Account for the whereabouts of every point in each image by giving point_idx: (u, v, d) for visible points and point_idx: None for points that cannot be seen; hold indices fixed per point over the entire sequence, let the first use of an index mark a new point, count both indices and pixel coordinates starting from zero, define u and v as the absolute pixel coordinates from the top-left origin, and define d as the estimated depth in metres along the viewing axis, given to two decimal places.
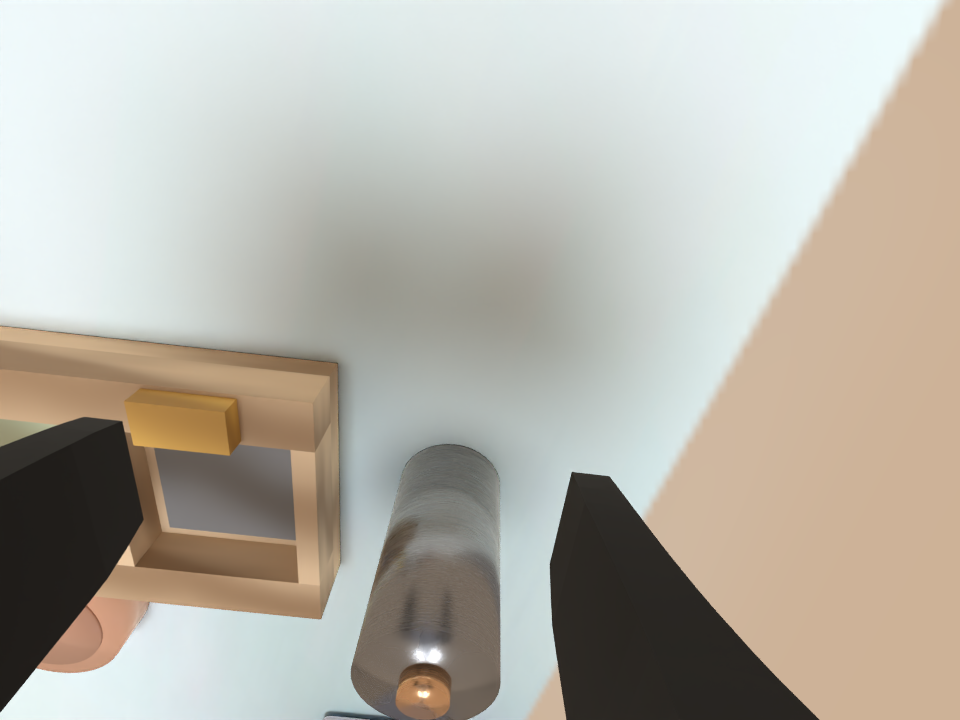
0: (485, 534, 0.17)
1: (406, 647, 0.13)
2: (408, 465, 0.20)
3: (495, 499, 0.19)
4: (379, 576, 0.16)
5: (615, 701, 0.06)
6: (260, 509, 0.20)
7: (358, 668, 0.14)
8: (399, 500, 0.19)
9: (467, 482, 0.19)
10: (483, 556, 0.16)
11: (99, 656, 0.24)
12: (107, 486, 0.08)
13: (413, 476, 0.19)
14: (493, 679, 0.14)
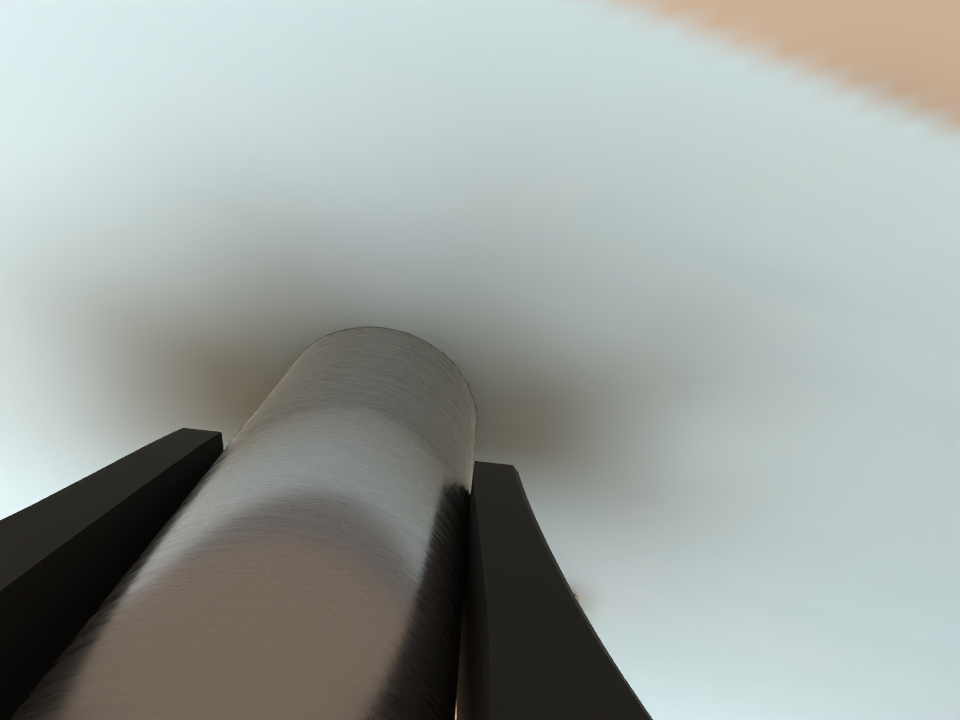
0: (203, 480, 0.07)
1: None
2: None
3: (297, 377, 0.08)
4: None
5: (474, 686, 0.06)
6: None
7: None
8: None
9: None
10: (154, 540, 0.06)
11: None
12: None
13: None
14: None
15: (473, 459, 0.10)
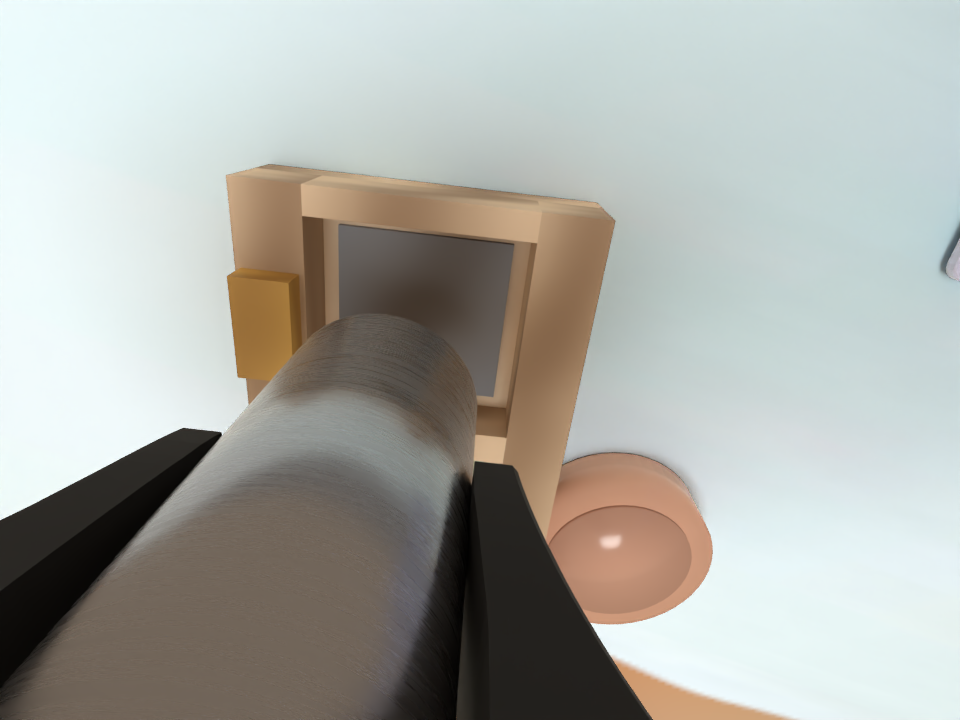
0: (213, 448, 0.07)
1: None
2: None
3: (303, 357, 0.09)
4: None
5: (474, 686, 0.06)
6: (460, 285, 0.16)
7: None
8: None
9: None
10: (166, 500, 0.06)
11: (687, 523, 0.19)
12: None
13: None
14: None
15: None
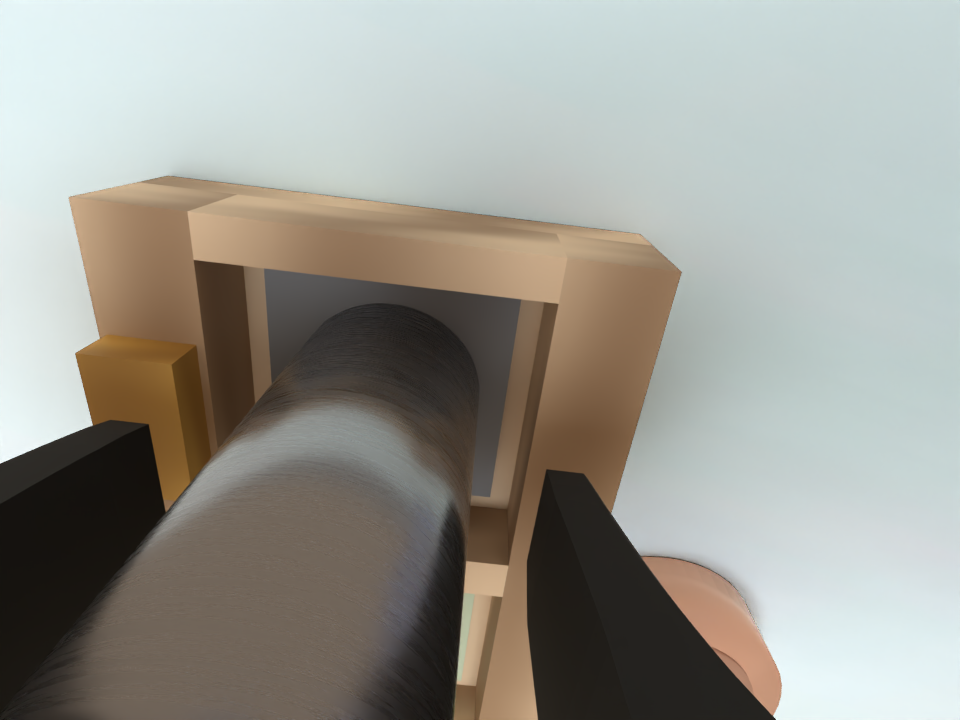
0: (236, 428, 0.07)
1: None
2: None
3: (317, 345, 0.09)
4: None
5: (578, 698, 0.06)
6: None
7: None
8: None
9: None
10: (198, 475, 0.07)
11: (750, 660, 0.14)
12: (134, 489, 0.08)
13: None
14: None
15: None
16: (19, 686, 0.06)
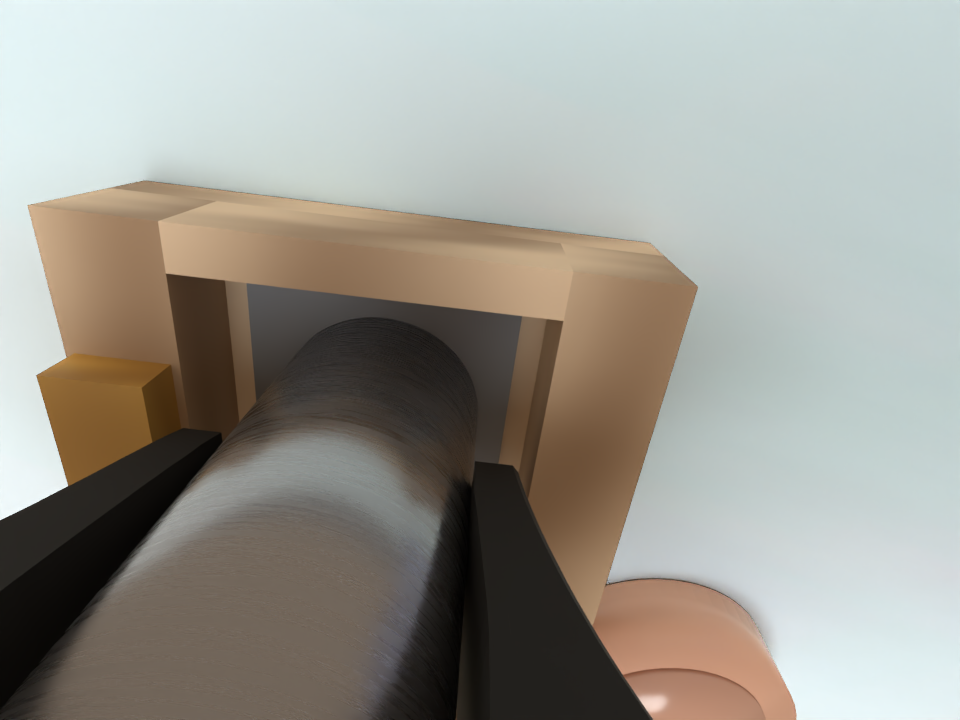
0: (207, 461, 0.07)
1: None
2: None
3: (301, 364, 0.09)
4: None
5: (474, 686, 0.06)
6: None
7: None
8: None
9: None
10: (160, 518, 0.06)
11: (763, 691, 0.13)
12: None
13: None
14: None
15: None
16: None
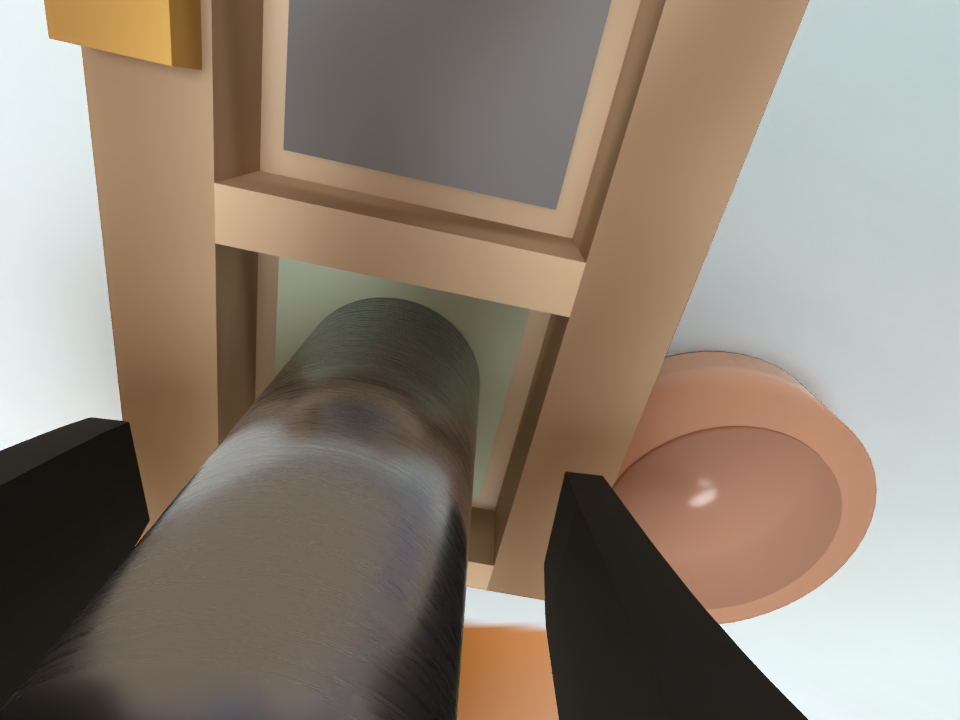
0: (244, 417, 0.08)
1: None
2: None
3: (320, 337, 0.09)
4: None
5: (605, 700, 0.06)
6: None
7: None
8: None
9: None
10: (206, 461, 0.07)
11: (845, 467, 0.11)
12: (114, 487, 0.08)
13: None
14: (148, 685, 0.04)
15: None
16: None
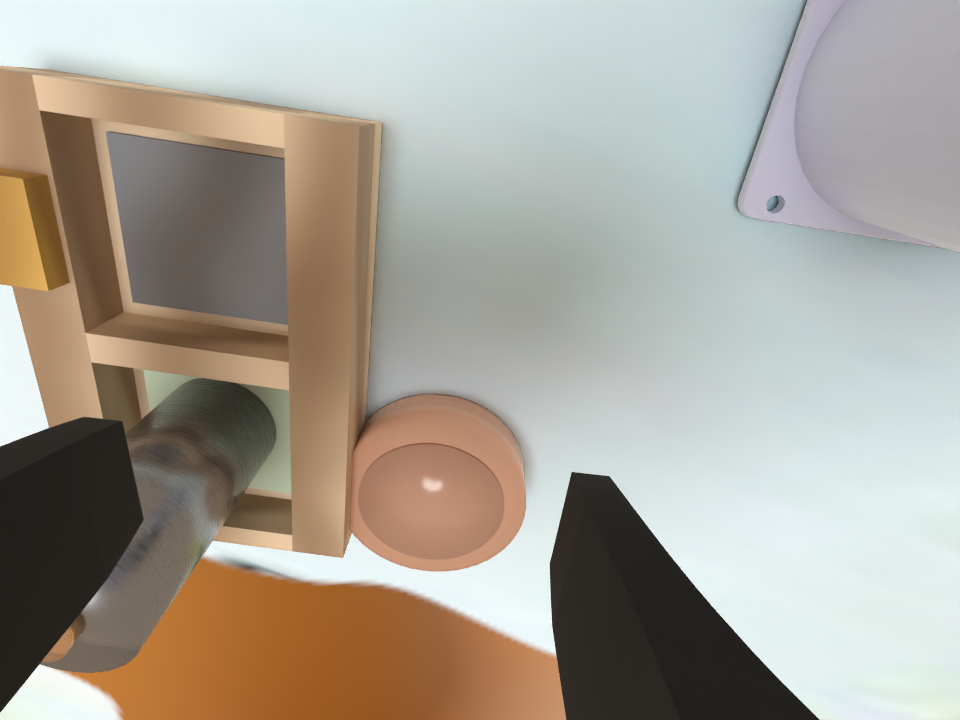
0: None
1: None
2: None
3: (155, 408, 0.17)
4: None
5: (615, 701, 0.06)
6: (239, 202, 0.16)
7: (69, 666, 0.13)
8: None
9: None
10: None
11: (495, 464, 0.19)
12: (107, 486, 0.08)
13: None
14: None
15: (263, 445, 0.18)
16: None
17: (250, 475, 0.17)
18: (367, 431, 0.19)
